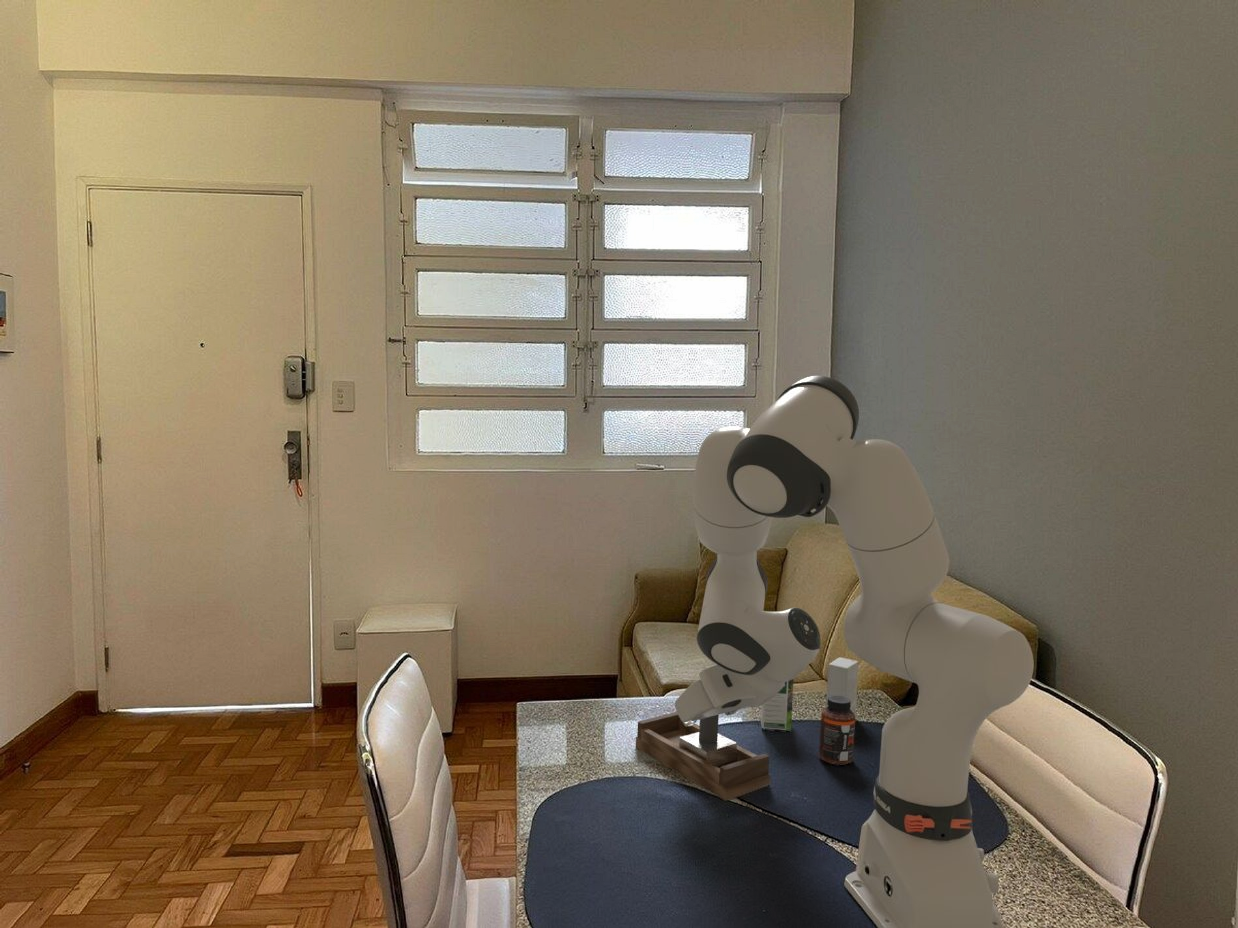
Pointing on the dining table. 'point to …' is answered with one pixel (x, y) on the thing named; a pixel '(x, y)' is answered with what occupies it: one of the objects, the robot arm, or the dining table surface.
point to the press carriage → (710, 743)
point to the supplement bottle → (837, 731)
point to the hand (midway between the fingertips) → (707, 716)
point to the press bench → (720, 780)
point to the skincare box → (843, 680)
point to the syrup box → (778, 709)
